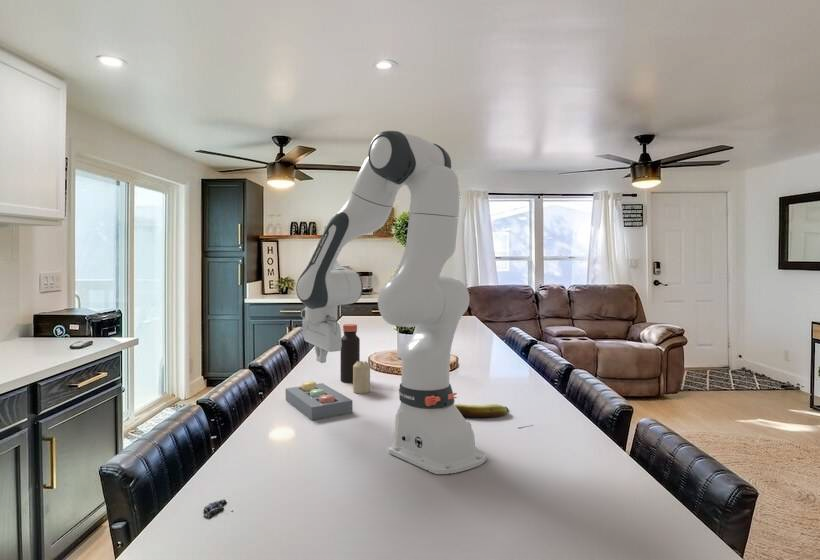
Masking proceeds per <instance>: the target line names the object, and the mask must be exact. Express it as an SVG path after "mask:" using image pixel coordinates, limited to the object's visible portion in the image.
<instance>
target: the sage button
mask: <svg viewBox="0 0 820 560" xmlns="http://www.w3.org/2000/svg"><path fill="white" fill-rule="evenodd" d="M322 395H325V390H323V389H314V390H311V391H310V396H311V397H312V398H313V397H319V396H322Z"/></svg>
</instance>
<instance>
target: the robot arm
mask: <svg viewBox="0 0 820 560" xmlns="http://www.w3.org/2000/svg"><path fill="white" fill-rule="evenodd" d="M358 171H359V172H358V173H357V175H356V178H355V180H354V183H353V185H352V188H351V191H350V194H349V197H348V198H347V200H346V202H345V204H344V205H343V206H342V208H340V210H339V211H338V212H337V213H335V214H334V215H333V216H332V217H331V218H330V219H329V221H328V223H327V225H326V227H325V229H324V231H323V233H322V235H321V237H320V239H319V242H318V243H317V246H316V248H315V249H314V252H313V253H312V256H311V258H310V260H309V262H308V264H307V266H306V267H305V268H304V270H303V272H302V273H301V274H300V276H299V278H298V280H297V283H296V286H295V287H296V288H295V289H296V295H297V297H298V299H299V301H300V302H301V303H302V304H303V305H304V306H305V307H304V308H303V309H302V310H301V311H300V316H301V318H302V322H301V323H302V336H303V340H304V341H305V342H307V343H309V344H310V345H313V346H314V351H315V355H316V361H317V362H319V363H320V364H324V363H326V362H327V356H328V353H332V352H333V353H334V352H341V346H342V344H341V338H342V329H341V325H340V324H339V323H338V321H337V320H338V306H344V305H346V306H347V305H351V304H354V303H357V302H358V301H359V300H360V298H361V296H362V294H363V289H364V288H363V286H364V284H363V279H362V278H361V276H360V275H359V273H358V272H357V271H355V270H351V269H349V268H346V267H344V266H343V265H341V264H340V263H339V262H338V258H339V255H340V253H341V252H342V250H343V248H344V247H345V246H346V245H347V244H348V243H350V242H352V241H353V240H355V239H357V238H360V237H363V236H364V235H365V236H366V235H369V234H372V233H375V232H377V231H379V230H380V229H382V227H383V226H384V225H385V224H386V223H387V221H388V219H389V217H390V215H391V212H392V209H393V206H394V204H395V201H396V197H397V196H398V195H397V194H398V192H399V190H400V189H401V188H402V187H403V186H407V188H408V190H409V192H410V204H409V214H408V225H407V231H406V232H407V234H406V241H405V247H404V251H403V255H402V257H401V260H400V263H399V265H398V267H397V268H396V271H395V272H394V274H393V276H391V278H390V279H389V280H388V281H387V282H386V283H385V284H383V286H382V287H381V289H380V290H379V292H378V293H379V294H378V297H377V308H378V311H379V314H380V316H381V317H382V319H383V320H384V321H385V322H386V323H387V324H390V325H392V326H396V327H404V328H412V327H413V328H414V330H413V332H412V336H411V337H410V339H409V341H408V342H406V344H405V345H404V347H403V349H402V352H401V382H400V383H399V388H398V389H399V390H398V393H399V396H398V397H399V401H400V405H399V407H398V409H397V412H396V414H395V419H394V429H393V430H394V431H393V441H392V444H391V445H390V446H389V449H388V453H389V454H390V455H393V456H395V457H396V458H398V459H401V460H403V461H405V462H408V463H410V464H411V465H415V466H417V467H419V468H421V469H423V470H425V471H427V470H428V471H427V472H430V473H432V474H435V475H449V473H450V474H456V473H461V472H464V471H467V470H471V469H474V468H476V467H479V466H481V465H482V464H484V463H485V462H486V461H487V454H486V453H485V452H483V450H481V449H479V448H478V447H476V441H475V434H474V429H473V428H472V424H471V422H470V421H469V420H466V418H464V417H463V416H462V414H461V413H460V411H459V410H458V409H457V407H456V406H455V405H456V404H455V403H456V402H455V401H456V400H455V399H457V398H458V397H457V396H456V395H457V394H458V393H457V392H454V391H453V387H452V385H451V383H450V370H451V369H450V368H451V367H450V365H451V351H452V345H453V340H454V337H455V334H456V331H457V328H458V324H459V322H460V321H461V319H462V317H463V315H465V313H466V312H467V310H468V308H469V306H470V293H469V290H468V287H467V286H466V285H465V284H464V282H462V281H461V280H458V279H455V278H453V277H449V276H446V275H445V276H442V275H441V274H442V273H441V272H442V271H443V268H444V266H445V264H446V263H447V261H448V260H449V259H450V258H451V257H452V256H454V253H455V252H456V251H455V250H456V245H457V234H458V226H459V225H458V224H459V213H460V190H459V189H460V188H459V178H458V176H457V174H456V172H455V171H454V170H453V169H452V160H451V157H450V155H449V153H448V152H447V151H446V149H444V148H443V147H442V146H440V145H439V144H436V143H432V142H430V141H428V140H425V139H424V138H422V137H420V136H418V135H417V136H416V135H412V134H409V133H402V132H401V131H398V130H384V131H380V133H378V134H377V135H375V136H374V137H373V139H372V140H371V143H370V144H369V149H368V155H367V157H366V158H365V160H364V162H363V164H362V165H361V167H360V169H359V170H358Z"/></svg>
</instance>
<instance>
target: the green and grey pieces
mask: <svg viewBox="0 0 820 560" xmlns="http://www.w3.org/2000/svg"><path fill="white" fill-rule="evenodd" d="M455 406H456V407H457V409H458V410H459V411H460V413H461V414H462V416H463V417H464V418H465V419H491V418H492V419H493V418H499V417H503V416H506V414H507V413H508V412H509V408H508V407H507V406H504V405H502V404H498V403H497V404H496V403H493V404H492V403H491V404H481V405H479V404H478V405H477V404H470V405H469V404H460V403H459V404H455ZM525 427H526V426H521V427H519V426H518V427H516V428H517V429H522V428H525Z"/></svg>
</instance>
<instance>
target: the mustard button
mask: <svg viewBox="0 0 820 560" xmlns="http://www.w3.org/2000/svg"><path fill="white" fill-rule="evenodd" d="M316 384H317V382H315V381H310V380H309V381H304V382H302V383H301V386H302V391H304V392H306V391H311V390H314V389H316Z"/></svg>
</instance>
